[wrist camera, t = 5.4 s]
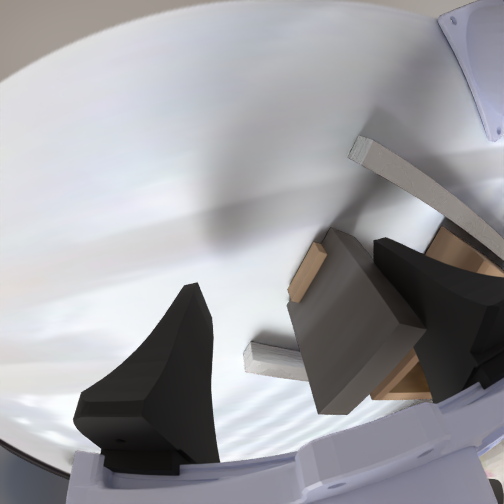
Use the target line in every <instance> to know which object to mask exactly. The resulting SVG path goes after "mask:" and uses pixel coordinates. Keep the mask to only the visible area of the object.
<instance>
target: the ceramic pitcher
mask: <svg viewBox="0 0 504 504" xmlns="http://www.w3.org/2000/svg"><path fill="white" fill-rule="evenodd" d="M479 459H480V461H481V464H482V466H483V468H484V471H485V473H486V475H487V478H491V479H497V480H499V481H500V482H501V483H502V486H503V490H504V440H502V441H501V442H500V443H498V444H497V445H496V446H494V447H493V448H491V449H490V450H489V451H487V452H486V453H484V454H483V455H481V456H480V457H479Z"/></svg>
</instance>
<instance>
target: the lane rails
mask: <svg viewBox="0 0 504 504" xmlns="http://www.w3.org/2000/svg"><path fill="white" fill-rule="evenodd" d="M348 158H349V159H351V160H353V161H355V162H357V163H359V164H361V165H362V166H364V167H366V168H368V169H370V170H372V171H373V172H375V173H377V174H379V175H380V176H382V177H384V178H386V179H387V180H389V181H391V182H392V183H394V184H396V185H397V186H399V187H401V188H402V189H404V190H406V191H407V192H409V193H411V194H412V195H414V196H415V197H417V198H419V199H420V200H422V201H423V202H425V203H426V204H428V205H429V206H431V207H432V208H434V209H435V210H437V211H438V212H440V213H441V214H443V215H444V216H446V217H447V218H449V219H450V220H451V221H453V222H454V223H456V224H457V225H458V226H460V227H461V228H463V229H464V230H465V231H467V232H468V233H469V234H471V235H472V236H473V237H475V238H476V239H477V240H479V241H480V242H481V243H483V244H484V245H485V246H486V247H488V248H489V249H490V250H491V251H493V252H494V253H495V254H496V255H498V256H499V257H500V258H501V259H502V260H504V239H503V238H502V237H501V236H500V235H499V234H498V233H497V232H496V231H495V230H494V229H493V228H492V227H491V226H489V225H488V224H487V223H486V222H485V221H484V220H483V219H482V218H480V217H479V216H478V215H477V214H476V213H475V212H473V211H472V210H471V209H470V208H469V207H467V206H466V205H465V204H464V203H463V202H461V201H460V200H459V199H458V198H456V197H455V196H454V195H453V194H451V193H450V192H449V191H447V190H446V189H445V188H443V187H442V186H441V185H439V184H438V183H437V182H435V181H434V180H433V179H431V178H430V177H429V176H427V175H426V174H424V173H423V172H422V171H420V170H419V169H417V168H416V167H414V166H413V165H411V164H410V163H408V162H407V161H405V160H404V159H402V158H401V157H399V156H398V155H396V154H395V153H393V152H392V151H390V150H388V149H387V148H385V147H384V146H382V145H380V144H379V143H377V142H375V141H374V140H371V139H368V138H365V137H362V136H359V135H358V138H357V140H356V142H355V144H354V146H353V148H352V150H351V152H350V154H349V156H348ZM243 356H244V366H245V372H247V373H253V374H259V375H265V376H272V377H278V378H285V379H293V380H300V381H309V380H308V377H307V373H306V370H305V366H304V363H303V359H302V356H301V352H300V351H295V350H289V349H284V348H279V347H274V346H269V345H264V344H259V343H254V342H250V343H249V345H248V347H247V348H246V350H245V352H244V354H243Z"/></svg>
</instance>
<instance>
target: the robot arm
mask: <svg viewBox="0 0 504 504" xmlns="http://www.w3.org/2000/svg"><path fill="white" fill-rule="evenodd" d="M450 19H451V20H452V22H453V24H452V22H451V20H450ZM438 23H439V25H440V27H441V29H442V31H443V32H444V34H445V36H446V38H447V40H448V42H449V44H450V45H451V47H452V49H453V51H454V53H455V55H456V57H457V60H458V62H459V64H460V66H461V68H462V70H463V73H464V75H465V77H466V79H467V82H468V84H469V87H470V89H471V92H472V94H473V97H474V99H475V102H476V105H477V108H478V110H479V113H480V116H481V119H482V122H483V125H484V128H485V132H486V135H487V138H488V139H489V140H490V141H493V142H496V141H497V140H498V139H499V138H500V137H502V136H503V135H504V0H478V1H475V2H472V3H470V4H467V5H464V6H462V7H459V8H457V9H454V10H452V11H450V12H447V13H445V14H443V15H440V16H439V17H438ZM373 242H374V263H375V264H376V266H377V267H378V268H379V270H380V271H381V272H382V273H383V275H384V276H385V277H386V278H387V279H388V280H389V282H390V283H391V284H392V285H393V286H394V287H395V289H396V290H397V291H398V292H399V293H400V295H401V296H402V297H403V298H404V299H405V301H406V302H407V303H408V304H409V306H410V307H411V308H412V310H413V311H414V313H415V314H416V315H417V317H418V318H419V319H420V321H421V322H422V323H423V325H424V326H425V328H426V329H427V330H426V332H425V333H424V334H423V335H422V337H421V338H420V339H419V340H418V342H417V343H416V344H415V345H414V346H413V348H414V350H415V352H416V355H417V357H418V359H419V362H420V364H421V367H422V369H423V372H424V375H425V378H426V380H427V383H428V386H429V389H430V393H431V396H432V400H433V403H428V402H424V403H421V404H417V405H414V406H411V407H409V408H406V409H404V410H401V411H399V412H396V413H394V414H391V415H388V416H386V417H383V418H380V419H377V420H374V421H371V422H369V423H366V424H363V425H359V426H356V427H353V428H350V429H346V430H343V431H340V432H336V433H332V434H329V435H327V436H324V437H321V438H318V439H315V440H313V441H311V442H309V443H308V444H306V445H304V446H303V447H301V448H300V449H299V450H298V451H296V452H291V453H286V454H281V455H275V456H269V457H263V458H256V459H249V460H241V461H232V462H222V463H220V459H219V454H218V448H217V441H216V434H215V427H214V417H213V407H212V394H211V375H212V358H213V339H214V337H213V323H212V317H211V314H210V312H209V309H208V307H207V304H206V302H205V299H204V297H203V295H202V292H201V290H200V287H199V285H198V282H197V283H193V284H188V285H184V286H183V288H182V289H181V291H180V292H179V294H178V295H177V297H176V298H175V300H174V301H173V303H172V304H171V306H170V307H169V309H168V310H167V312H166V313H165V315H164V316H163V318H162V319H161V320H160V322H159V323H158V324H157V326H156V327H155V328H154V330H153V331H152V332H151V334H150V335H149V336H148V337H147V338H146V340H145V341H144V342H143V343H142V344H141V345H140V346H139V347H138V348H137V349H136V351H135V352H133V353H132V354H131V355H130V356H129V357H128V358H127V359H126V360H125V361H124V362H123V363H122V364H121V365H119V366H118V367H117V368H116V369H115V370H113V371H112V372H111V373H110V374H108V375H107V376H106V377H104V378H103V379H101V380H100V381H98V382H97V383H95V384H94V385H92V386H91V387H89V388H88V389H86V390H84V391H83V392H81V395H80V398H79V401H78V405H77V408H76V411H75V415H74V418H73V422H74V425H75V426H76V428H77V429H78V430H79V431H80V432H81V433H82V434H83V435H84V436H85V437H87V438H88V439H89V440H91V441H92V442H93V443H94V444H96V445H97V446H98V447H100V448H101V454H98V453H91V452H83V451H76V452H75V457H74V461H73V466H72V471H71V476H70V481H69V487H68V493H67V499H66V504H498V503H497V500H496V498H495V495H494V493H493V490H492V487H491V485H490V483H489V480H488V478H487V475H486V473H485V471H484V468H483V466H482V464H481V461H480V459H479V457H480V456H481V455H483V454H484V453H486V452H487V451H489V450H490V449H491V448H493V447H494V446H496V445H497V444H498V443H500V442H501V441H502V440H504V277H497V276H490V275H485V274H480V273H476V272H472V271H468V270H464V269H461V268H458V267H455V266H452V265H449V264H446V263H443V262H441V261H438V260H436V259H433V258H431V257H429V256H426V255H424V254H422V253H420V252H418V251H415V250H413V249H411V248H409V247H407V246H405V245H403V244H400V243H398V242H396V241H394V240H391V239H389V238H386V237H385V238H381V239H377V240H373Z"/></svg>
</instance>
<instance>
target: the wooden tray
mask: <svg viewBox="0 0 504 504" xmlns="http://www.w3.org/2000/svg"><path fill="white" fill-rule="evenodd" d="M425 255H426V256H429V257H431V258H433V259H436V260H438V261H441V262H443V263H446V264H449V265H452V266H455V267H458V268H461V269H464V270H468V271H472V272H476V273H480V274H485V275H490V276H497V277H504V270H503V269H502V268H501V267H500V266H498V265H497V264H496V263H494V262H493V261H492V260H490V259H489V258H488V257H486V256H485V255H484V254H482V253H481V252H480V251H478V250H477V249H475V248H474V247H473V246H471V245H470V244H468V243H467V242H465V241H464V240H462V239H461V238H460V237H458V236H457V235H455V234H454V233H452V232H451V231H449V230H448V229H446V228H445V227H443V226H441V228H440V230H439V232H438V233H437V235H436V237H435V239H434V240H433V242H432V244H431V245H430V247H429V249H428V250H427V252H426V254H425ZM287 290H288V293H289V296H290V301H289V302H288V304H287V308H288V312H289V315H290V318H291V322H292V325H293V329H294V332H295V335H296V339H297V342H298V346H299V349H300V352H301V356H302V359H303V363H304V366H305V370H306V373H307V377H308V380H309V384H310V387H311V391H312V394H313V398H314V401H315V405H316V409H317V412H318V414H325V415H348V414H349V413H350V412H351V411H352V410H353V409H354V408H355V407H356V406H358V405H359V404H360V403H361V402H362V401H363V400H364V399H365V398H366V397H367V396H368V395H369V394H370V396H371V399H372V400H412V399H431V398H432V396H431V393H430V389H429V386H428V383H427V380H426V378H425V375H424V372H423V369H422V367H421V364H420V362H419V359H418V357H417V355H416V352H415V350H414V348H413V346H414V345H415V344H416V343H417V342H418V340H419V339H420V338H421V337H422V335H423V334H424V333H425V332H426V330H427V329H426V328H425V326H424V325H423V323H422V322H421V321H420V319H419V318H418V317H417V315H416V314H415V313H414V311H413V310H412V308H411V307H410V306H409V304H408V303H407V302H406V301H405V299H404V298H403V297H402V296H401V295H400V293H399V292H398V291H397V290H396V289H395V287H394V286H393V285H392V284H391V283H390V282H389V280H388V279H387V278H386V277H385V276H384V275H383V273H382V272H381V271H380V270H379V268H378V267H377V266H376V264H375V263H374V260H373V259H372V257H371V256H370V255H369V254H368V253H367V251H366V250H365V249H364V248H363V247H362V245H361V244H360V243H359V242H358V241H357V240H356V238H355V237H353V236H351V235H348V234H346V233H343V232H341V231H339V230H336V229H334V228H331V227H330V229H329V231H328V233H327V235H326V237H325V239H324V240H323V242H322V244H319V243H316V242H313V244H312V246H311V248H310V249H309V251H308V253H307V255H306V257H305V259H304V260H303V262H302V264H301V266H300V268H299V270H298V271H297V273H296V275H295V277H294V279H293V280H292V282H291V284H290V286H289V288H288V289H287Z"/></svg>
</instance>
